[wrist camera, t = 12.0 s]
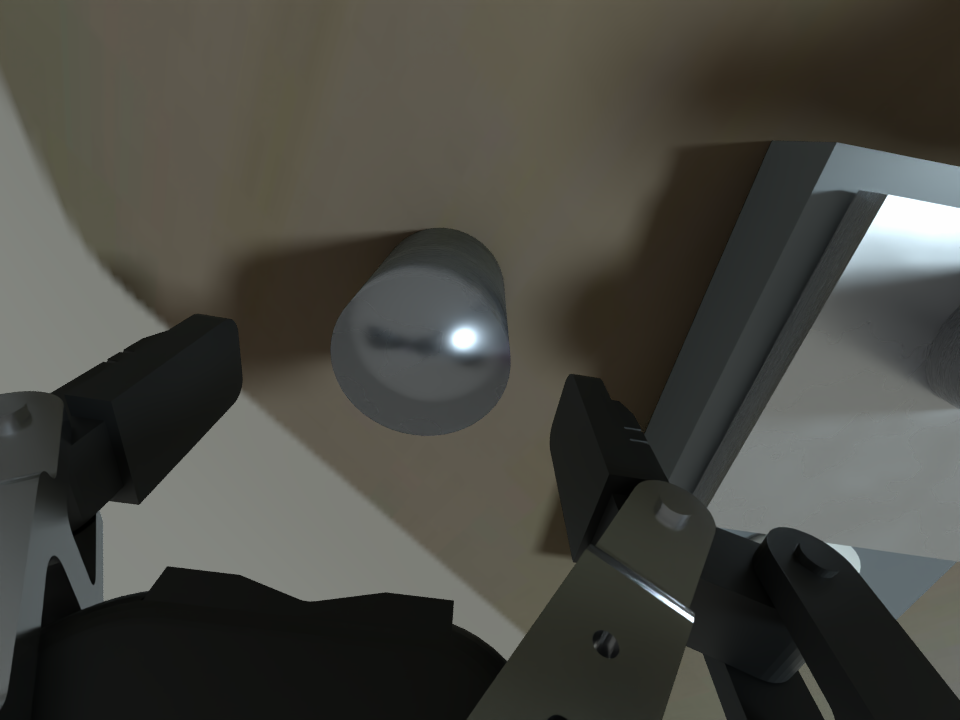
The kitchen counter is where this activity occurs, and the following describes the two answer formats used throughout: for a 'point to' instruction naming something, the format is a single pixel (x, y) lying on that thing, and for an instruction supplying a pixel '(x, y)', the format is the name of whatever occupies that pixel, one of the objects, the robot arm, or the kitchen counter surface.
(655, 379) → the kitchen counter surface
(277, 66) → the kitchen counter surface
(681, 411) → the scale
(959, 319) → the cylinder
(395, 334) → the cylinder
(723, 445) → the pan
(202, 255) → the kitchen counter surface
